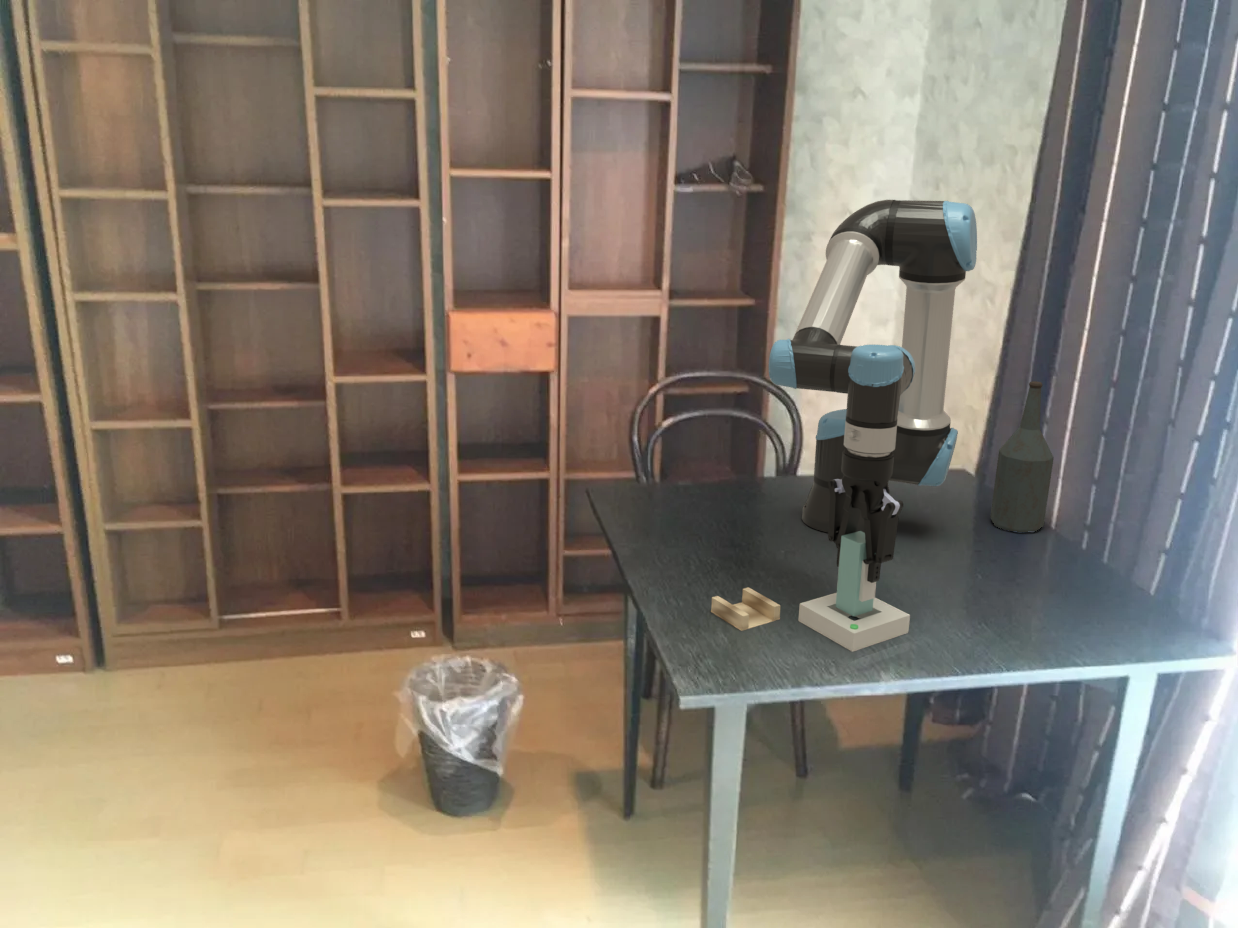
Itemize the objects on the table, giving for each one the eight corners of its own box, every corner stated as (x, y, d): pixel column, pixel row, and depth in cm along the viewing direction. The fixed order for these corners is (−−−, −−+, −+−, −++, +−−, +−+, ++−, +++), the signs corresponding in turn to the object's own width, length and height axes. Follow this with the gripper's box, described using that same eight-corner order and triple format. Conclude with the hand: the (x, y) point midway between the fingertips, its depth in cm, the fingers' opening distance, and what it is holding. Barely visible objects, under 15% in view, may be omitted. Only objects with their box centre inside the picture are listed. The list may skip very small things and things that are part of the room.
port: (797, 629, 164) (799, 601, 162) (852, 611, 170) (854, 585, 168) (851, 660, 154) (854, 631, 152) (907, 640, 160) (910, 613, 159)
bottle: (1047, 536, 204) (1069, 389, 194) (995, 532, 205) (1015, 386, 196) (1035, 517, 213) (1056, 377, 204) (986, 514, 215) (1004, 375, 206)
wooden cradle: (709, 619, 166) (710, 597, 165) (748, 608, 171) (749, 587, 169) (740, 639, 160) (742, 616, 159) (779, 627, 164) (781, 605, 163)
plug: (835, 606, 161) (841, 535, 157) (853, 601, 163) (860, 530, 159) (853, 616, 158) (860, 544, 154) (872, 610, 160) (879, 539, 156)
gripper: (810, 439, 157) (800, 579, 164) (893, 469, 144) (878, 619, 151) (846, 433, 161) (834, 569, 168) (930, 461, 148) (914, 608, 155)
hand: (855, 593), depth 159 cm, fingers closed on plug, 4 cm apart
